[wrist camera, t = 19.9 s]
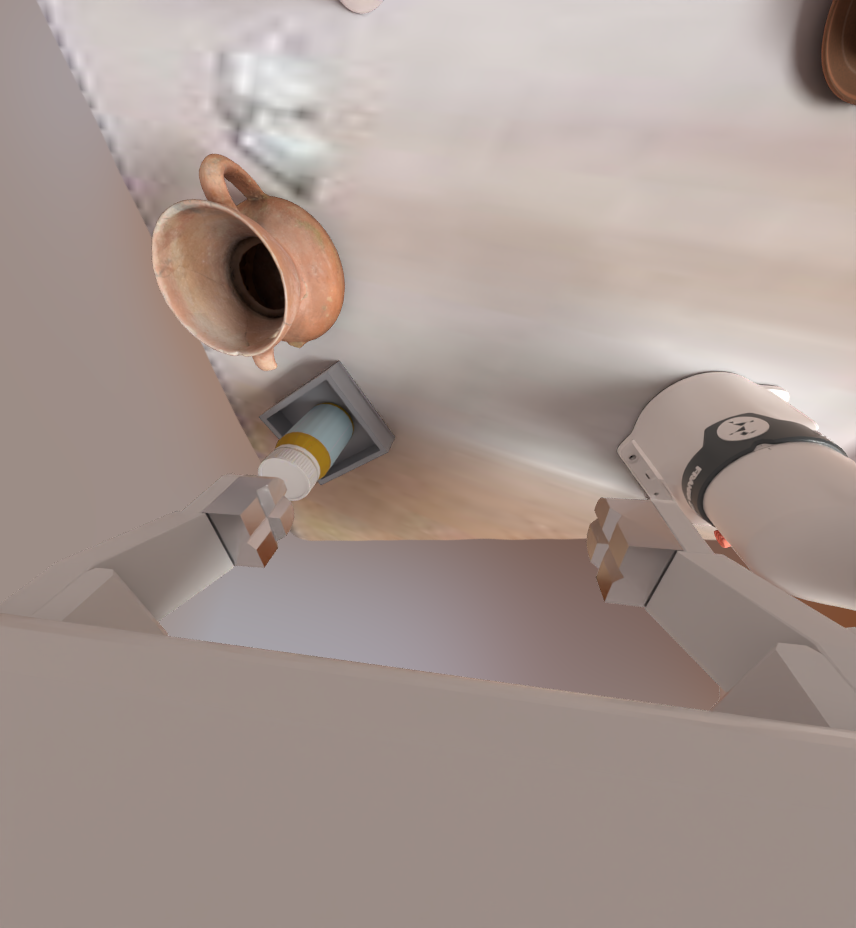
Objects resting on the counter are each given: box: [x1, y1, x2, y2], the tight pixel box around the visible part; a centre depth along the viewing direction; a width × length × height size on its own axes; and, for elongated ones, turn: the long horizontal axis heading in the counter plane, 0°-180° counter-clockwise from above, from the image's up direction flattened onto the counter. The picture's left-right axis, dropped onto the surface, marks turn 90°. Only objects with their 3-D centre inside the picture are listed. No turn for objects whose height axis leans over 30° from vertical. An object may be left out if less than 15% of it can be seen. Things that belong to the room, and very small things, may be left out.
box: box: [259, 361, 395, 485], centre depth 49 cm, size 14×14×4 cm
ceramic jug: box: [151, 154, 345, 371], centre depth 34 cm, size 18×14×14 cm
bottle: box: [258, 403, 354, 501], centre depth 44 cm, size 7×7×15 cm
